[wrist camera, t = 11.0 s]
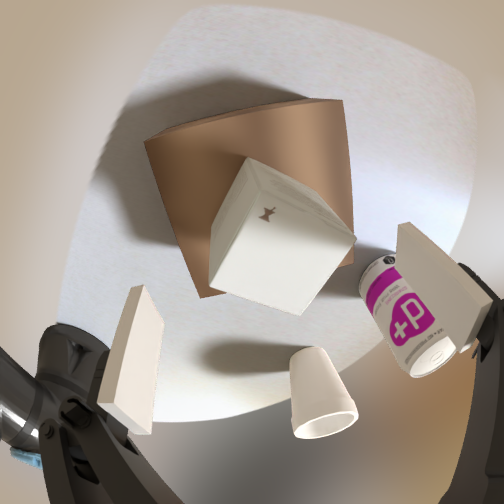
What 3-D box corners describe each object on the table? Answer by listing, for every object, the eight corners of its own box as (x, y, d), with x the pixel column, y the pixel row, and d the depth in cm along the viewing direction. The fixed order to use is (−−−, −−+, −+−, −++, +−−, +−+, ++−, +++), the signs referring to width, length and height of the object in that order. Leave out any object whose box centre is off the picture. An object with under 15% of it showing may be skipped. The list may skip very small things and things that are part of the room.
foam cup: (336, 364, 46) (357, 425, 35) (286, 379, 46) (300, 443, 35) (331, 333, 41) (358, 403, 30) (274, 350, 41) (288, 424, 30)
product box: (208, 226, 21) (204, 287, 15) (246, 153, 18) (260, 185, 12) (278, 255, 23) (299, 319, 17) (319, 192, 20) (361, 239, 14)
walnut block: (204, 251, 31) (200, 298, 24) (166, 129, 24) (143, 141, 17) (326, 224, 31) (353, 263, 24) (309, 98, 23) (342, 100, 17)
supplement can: (346, 277, 35) (396, 368, 22) (395, 239, 33) (463, 317, 20) (370, 307, 39) (413, 387, 26) (413, 274, 37) (467, 347, 24)
